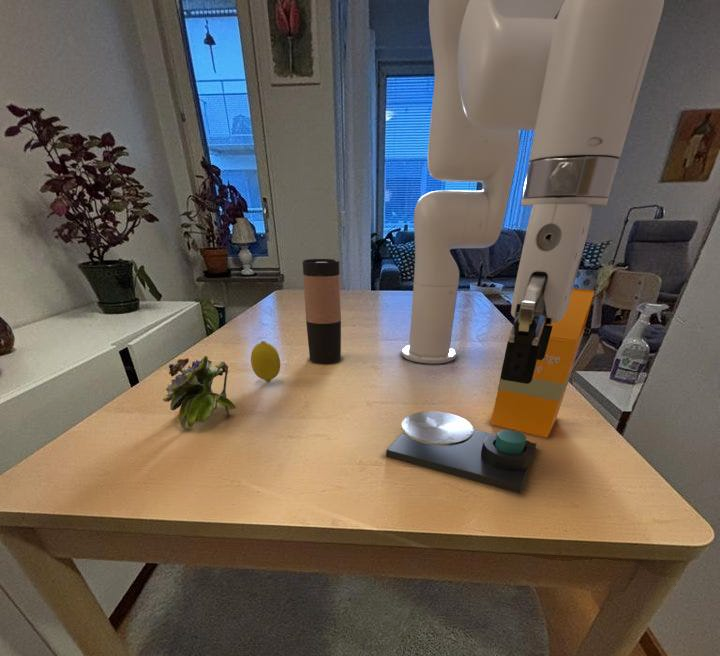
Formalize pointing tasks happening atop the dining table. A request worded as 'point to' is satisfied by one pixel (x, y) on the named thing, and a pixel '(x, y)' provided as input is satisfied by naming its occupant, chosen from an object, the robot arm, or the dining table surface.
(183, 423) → the purple flowering plant
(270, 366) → the lemon
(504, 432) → the tare button
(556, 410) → the orange juice
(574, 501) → the dining table surface
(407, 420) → the scale pan
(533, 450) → the scale
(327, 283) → the travel mug
